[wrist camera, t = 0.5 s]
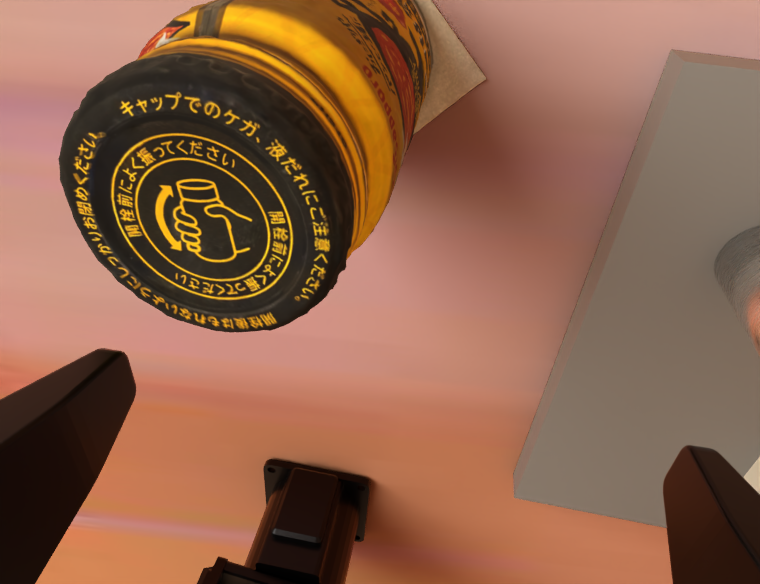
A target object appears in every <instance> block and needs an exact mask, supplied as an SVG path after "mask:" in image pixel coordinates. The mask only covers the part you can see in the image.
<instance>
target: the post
mask: <svg viewBox="0 0 760 584" xmlns="http://www.w3.org/2000/svg"><path fill="white" fill-rule="evenodd" d="M714 275H715V278H716V280H717V282H718V284H719V286H720V287H721V289H722V291H723V293H724V295H725V296H726V298H727V300H728V302H729V303H730V305H731V307H732V309H733V311H734V312H735V314H736V316H737V318H738V319H739V321H740V323H741V325H742V326H743V328H744V330H745V332H746V334H747V335H748V337H749V339H750V341H751V342H752V344H753V346H754V348H755V350H756V351H757V353H758V355H759V357H760V225H758V226H755V227H752V228H749V229H747V230H745V231H743V232H741V233H739V234H738V235H736V236H734V237H733V238H732V239H731V240H729V241H728V242H727V243H726V244H725V245H724V246H723V247H722V249H721V250H720V251H719V253H718V255H717V257H716V259H715V263H714Z"/></svg>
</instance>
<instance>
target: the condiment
mask: <svg viewBox="0 0 760 584" xmlns="http://www.w3.org/2000/svg"><path fill="white" fill-rule="evenodd" d="M484 80H486V77H485V76H484V74H483V73H482V71H481V70H480V68H479V67H478V66H477V64H476V63H475V62H474V60H473V59H472V57H471V56H470V55H469V53H468V52H467V50H466V48H465V47H464V46H463V44H462V43H461V42H460V40H459V39H458V38H457V36H456V35H455V33H454V32H453V30H452V29H451V27H450V26H449V25H448V23H447V22H446V20H445V19H444V18H443V16H442V15H441V13H440V12H439V11H438V9H437V8H436V6H435V5H434V4H433V2H432V1H431V0H215V1H211V2H208V3H207V4H202V5H198V6H195V7H191V9H190V10H189V11H187V12H185V13H183V14H181V15H179V16H177V17H175V18H174V19H173V20H172V21H171V22H170V23H169V24H167V25H166V26H165V27H164V28H163V29H162V30H161V31H159V32H158V33H157V34H156V35H155V36H154V37H153V38H151V39H150V40H149V41H148V43H147V44H146V46H145V47H144V48H143V50H142V51H141V53H140V55H139V57H138V59H137V60H136V61H133V62H131V63H129V64H127V65H125V66H123V67H122V68H120V69H119V70H117V71H115V72H113V73H112V74H110V75H107V76H106V77H105V78H104V79H103V81H101V82H100V83H98V84H97V85H96V86H94V87H93V88H91V89H90V90H89V91H88V92H87V95H86V97H85V98H84V99H83V100H82V102H81V105H80V107H79V109H78V110H76V111H75V112H74V114H73V117H72V119H71V121H70V123H69V125H68V127H67V129H66V131H65V134H64V136H63V141H62V147H61V152H60V156H59V165H60V181H61V183H62V186H63V188H64V192H65V195H66V198H67V201H68V203H69V206H70V208H71V211H72V214H73V217H74V220H75V222H76V224H77V226H78V228H79V229H80V231H81V234H82V235H83V237H84V239H85V241H86V242H87V244H88V245H89V247H90V249H91V250H92V252H93V253H94V255H95V257H96V258H97V260H98V261H99V262H100V263H101V264H103V265H104V266H105V267H106V268H107V269H108V270H109V271H110V272H111V273H112V274H113V276H114V277H115V278H116V280H117V281H118V282H120V283H121V284H122V285H124V286H125V287H126V288H128V289H129V290H131V291H132V292H133V293H134V294H135V295H136V296H137V297H138V298H140V299H142V300H143V301H145V302H147V303H149V304H150V305H152V306H154V307H155V308H157V309H159V310H160V311H162V312H163V313H164V314H166V315H167V316H169V317H172V318H175V319H177V320H180V321H184V322H187V323H190V324H193V325H197V326H200V327H204V328H208V329H211V330H215V331H223V332H250V331H260V330H273V329H276V328H279V327H281V326H284V325H286V324H288V323H290V322H292V321H293V320H295V319H297V318H298V317H300V316H302V315H305V314H307V313H308V312H309V310H310V309H311V308H313V307H314V306H316V305H317V304H318V303H319V302H321V301H322V300H323V299H324V298H325V297H326V296H327V294H328V293H329V290H331V289H333V287H334V285H335V284H336V283H337V278H338V275H339V273H340V272H341V271H343V270H345V268H346V260H347V259H348V257H349V256H350V255H351V253H352V252H353V251H354V250H356V249H357V248H358V247H360V246H361V245H362V244H363V242H364V241H365V240H366V239H367V238H368V236H369V235H370V234H371V233H372V232H373V230H374V228H375V226H376V225H377V223H378V221H379V220H380V218H381V215H382V214H383V212H384V210H385V207H386V206H387V204H388V203H389V200H390V197H391V194H392V191H393V189H394V186H395V183H396V180H397V176H398V173H399V170H400V167H401V166H402V163H403V159H404V156H405V154H406V151H407V149H408V147H409V145H410V142H411V139H412V136H413V134H415V133H416V132H418V131H419V130H420V129H421V128H423V127H424V126H425V125H426V124H428V123H429V122H430V121H432V120H433V119H434V118H435V117H437V116H438V115H439V114H440V113H442V112H443V111H444V110H446V109H447V108H448V107H450V106H451V105H453V104H454V103H455V102H456V101H457V100H459V99H460V98H461V97H462V96H464V95H465V94H466V93H468V92H469V91H470V90H472V89H473V88H474V87H476V86H477V85H478V84H480V83H481V82H483V81H484Z"/></svg>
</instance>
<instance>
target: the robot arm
mask: <svg viewBox="0 0 760 584" xmlns="http://www.w3.org/2000/svg"><path fill="white" fill-rule="evenodd" d="M135 395H136V384H135V380H134V377H133V373H132V370H131V366H130V363H129V359H128V357H127V355H126V354H125V353H124V352H122V351H117V350H111V349H105V348H101V349H97V350H95V351H93V352H91V353H89V354H87V355H85V356H83V357H81V358H79V359H78V360H76V361H74V362H72V363H70V364H68V365H66V366H64V367H62V368H60V369H58V370H56V371H54V372H52V373H51V374H49V375H47V376H45V377H43V378H41V379H39V380H37V381H35V382H33V383H31V384H29V385H27V386H26V387H24V388H22V389H20V390H18V391H16V392H14V393H12V394H10V395H8V396H6V397H4V398H2V399H0V584H35V583H36V581H37V579H38V578H39V576H40V574H41V573H42V571H43V569H44V568H45V566H46V564H47V563H48V561H49V559H50V558H51V556H52V554H53V553H54V551H55V549H56V548H57V546H58V544H59V543H60V541H61V539H62V538H63V536H64V534H65V532H66V531H67V529H68V527H69V526H70V524H71V522H72V521H73V519H74V517H75V516H76V514H77V512H78V511H79V509H80V507H81V506H82V504H83V502H84V501H85V499H86V497H87V496H88V494H89V492H90V490H91V489H92V487H93V485H94V483H95V482H96V480H97V478H98V476H99V474H100V472H101V470H102V468H103V466H104V464H105V461H106V459H107V457H108V455H109V453H110V451H111V448H112V446H113V444H114V442H115V440H116V438H117V435H118V433H119V431H120V429H121V427H122V425H123V423H124V420H125V418H126V416H127V414H128V412H129V410H130V407H131V405H132V403H133V401H134V398H135ZM264 480H265V492H266V504H267V507H266V509H265V512H264V515H263V517H262V520H261V523H260V525H259V528H258V531H257V533H256V536H255V539H254V541H253V544H252V547H251V549H250V552H249V555H248V557H247V560H246V562H245V565H244V566H242V565H239V564H235V563H232V562H229V561H228V559H226V558H222V557H219V556H218V558H217V560H216V562H215V564H214V566H213V567H209V568H204V569H203V571H202V573H201V576H200V578H199V580H198V582H197V584H345V581H346V577H347V572H348V567H349V563H350V558H351V554H352V549H353V545H354V541H356V542H361V541H363V540H364V536H365V530H366V521H367V512H368V504H369V495H370V486H371V483H370V481H369V480H368V479H366V478H363V477H359V476H354V475H348V474H343V473H338V472H333V471H328V470H323V469H318V468H313V467H308V466H303V465H298V464H293V463H288V462H283V461H278V460H273V459H270V460H267V461H266V463H265V466H264ZM663 498H664V507H665V517H666V526H667V535H668V544H669V553H670V562H671V571H672V579H673V584H760V494H759V493H758V492H757V491H756V490H755V489H754V488H753V487H752V486H751V485H750V484H749V483H748V482H747V481H746V480H745V479H744V478H743V477H742V476H741V475H740V474H739V473H738V472H737V470H736V469H735V468H734V467H733V466H732V465H731V464H730V463H729V462H728V461H727V460H726V459H725V458H724V457H723V456H722V455H721V454H720V453H719V452H717V451H716V450H714V449H711V448H706V447H700V446H694V445H686V446H684V447H683V448H682V449H681V450H680V452H679V454H678V455H677V457H676V459H675V460H674V462H673V464H672V466H671V467H670V469H669V471H668V472H667V474H666V476H665V478H664V482H663Z"/></svg>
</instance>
